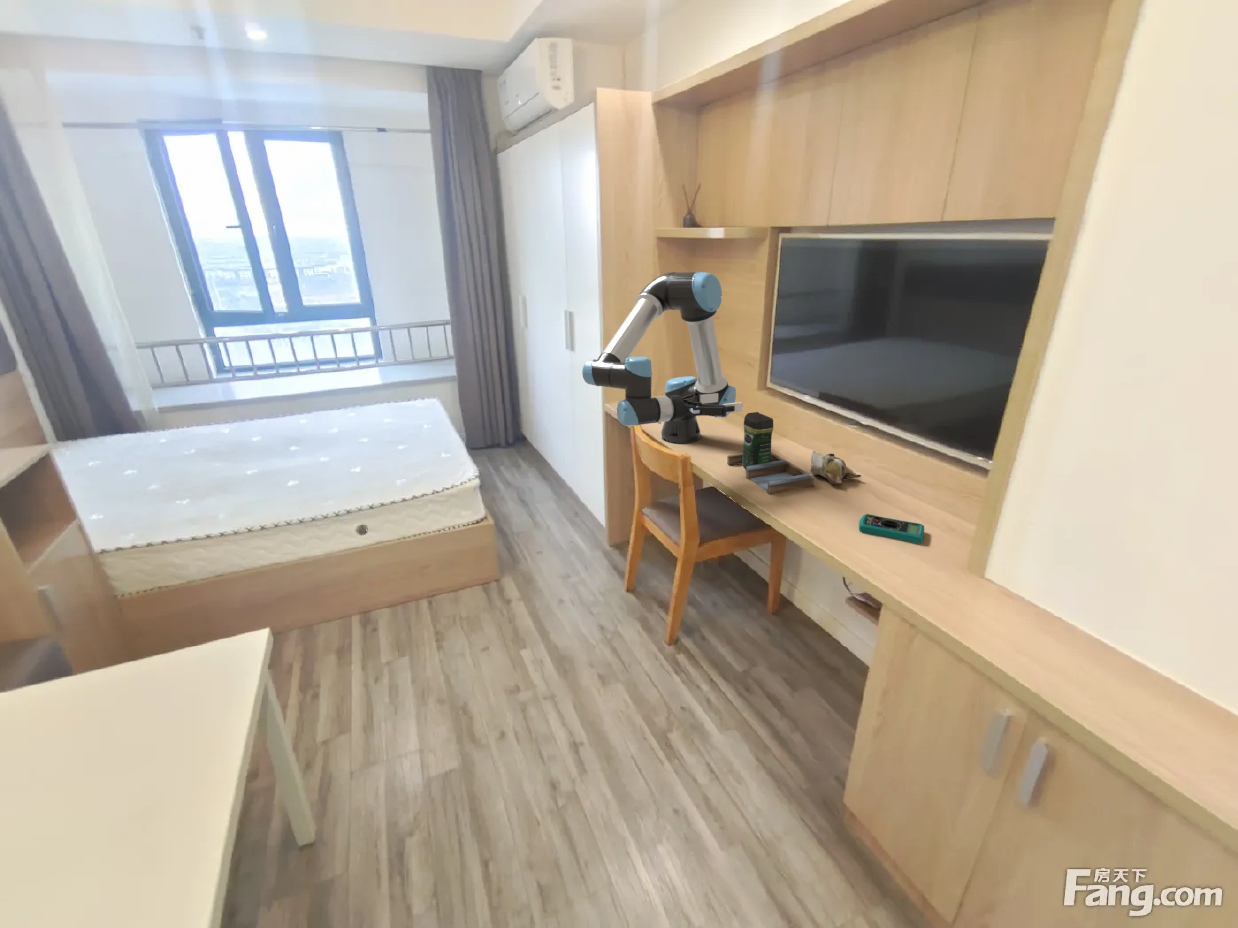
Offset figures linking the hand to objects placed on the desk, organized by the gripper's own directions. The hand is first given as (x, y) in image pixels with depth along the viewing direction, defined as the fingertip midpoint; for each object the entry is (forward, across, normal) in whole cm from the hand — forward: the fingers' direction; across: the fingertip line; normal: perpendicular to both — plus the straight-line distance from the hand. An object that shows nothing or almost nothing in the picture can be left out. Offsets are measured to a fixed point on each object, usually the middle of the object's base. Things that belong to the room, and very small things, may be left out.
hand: (729, 402), depth 172 cm
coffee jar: (+12, 0, -24) cm, 26 cm away
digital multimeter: (+17, +51, -25) cm, 60 cm away
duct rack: (+11, +6, -24) cm, 27 cm away
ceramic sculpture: (+27, +18, -24) cm, 40 cm away
